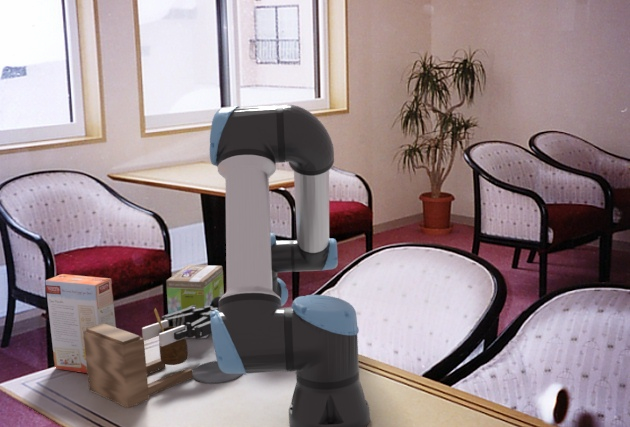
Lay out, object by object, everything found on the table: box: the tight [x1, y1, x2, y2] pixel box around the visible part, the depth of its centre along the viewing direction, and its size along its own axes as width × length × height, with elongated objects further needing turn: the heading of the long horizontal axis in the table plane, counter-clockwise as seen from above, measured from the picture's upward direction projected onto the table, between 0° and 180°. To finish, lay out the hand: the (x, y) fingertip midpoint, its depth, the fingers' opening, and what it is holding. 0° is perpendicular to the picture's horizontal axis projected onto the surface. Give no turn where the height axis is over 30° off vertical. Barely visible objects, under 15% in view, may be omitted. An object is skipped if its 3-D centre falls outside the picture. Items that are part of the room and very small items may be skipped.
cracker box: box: [45, 273, 117, 374], centre depth 180 cm, size 14×6×21 cm, turn 65°
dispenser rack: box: [83, 323, 194, 409], centre depth 171 cm, size 14×18×14 cm
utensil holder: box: [153, 307, 189, 366], centre depth 177 cm, size 6×6×12 cm
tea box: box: [165, 264, 225, 339], centre depth 204 cm, size 15×10×15 cm, turn 168°
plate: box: [192, 360, 243, 384], centre depth 176 cm, size 11×11×1 cm
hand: (151, 337), depth 172 cm, fingers closed on utensil holder, 5 cm apart
